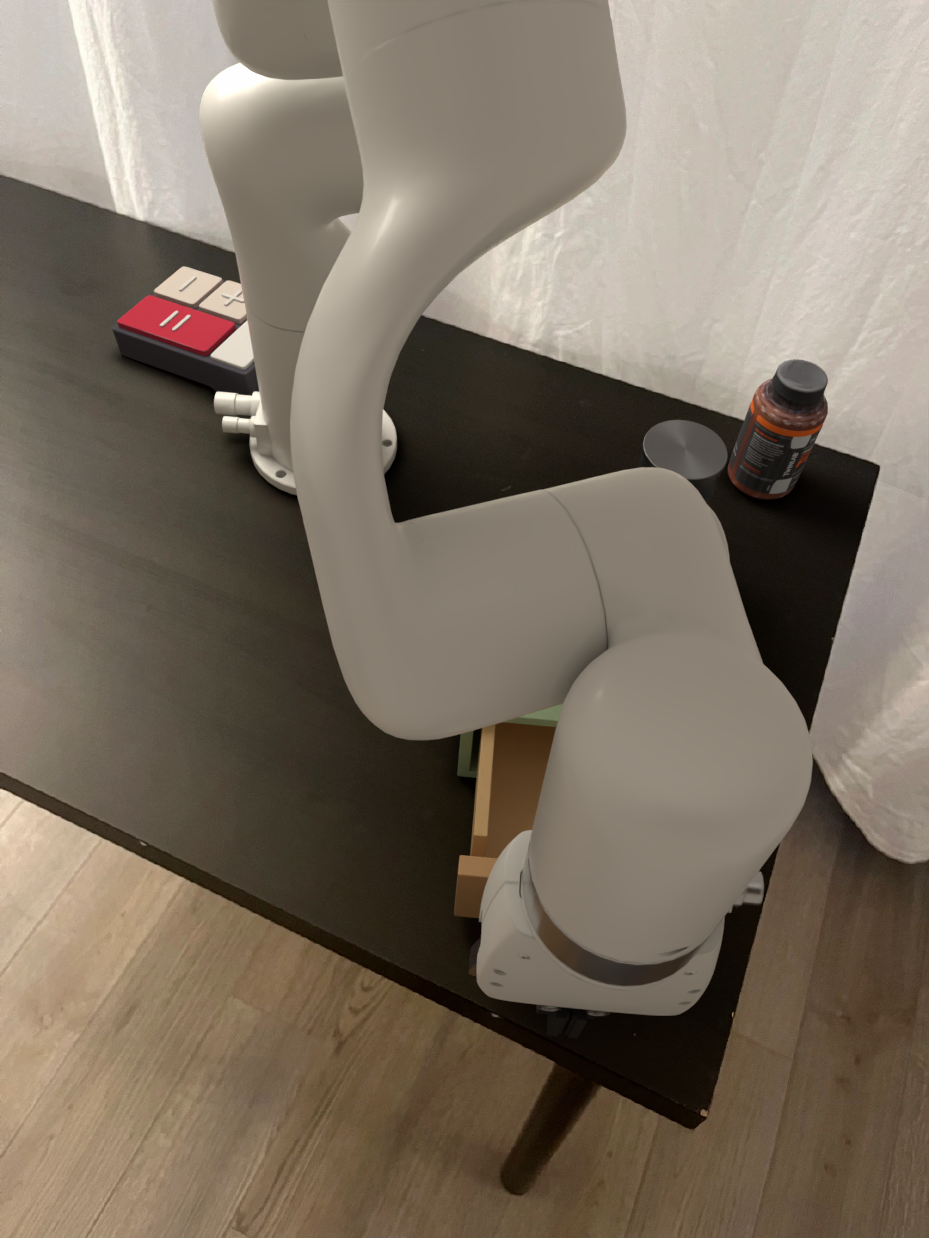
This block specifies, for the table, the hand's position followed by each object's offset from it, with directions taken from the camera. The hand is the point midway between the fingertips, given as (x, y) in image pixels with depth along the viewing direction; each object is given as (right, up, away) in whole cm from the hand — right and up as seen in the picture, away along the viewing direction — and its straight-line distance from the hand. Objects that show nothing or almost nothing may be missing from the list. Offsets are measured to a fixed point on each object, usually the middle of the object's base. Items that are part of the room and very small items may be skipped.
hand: (562, 1006), depth 52 cm
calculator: (-28, +47, +39) cm, 67 cm away
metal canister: (+10, +26, +26) cm, 38 cm away
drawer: (+1, +6, +10) cm, 12 cm away
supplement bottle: (+20, +33, +32) cm, 50 cm away
